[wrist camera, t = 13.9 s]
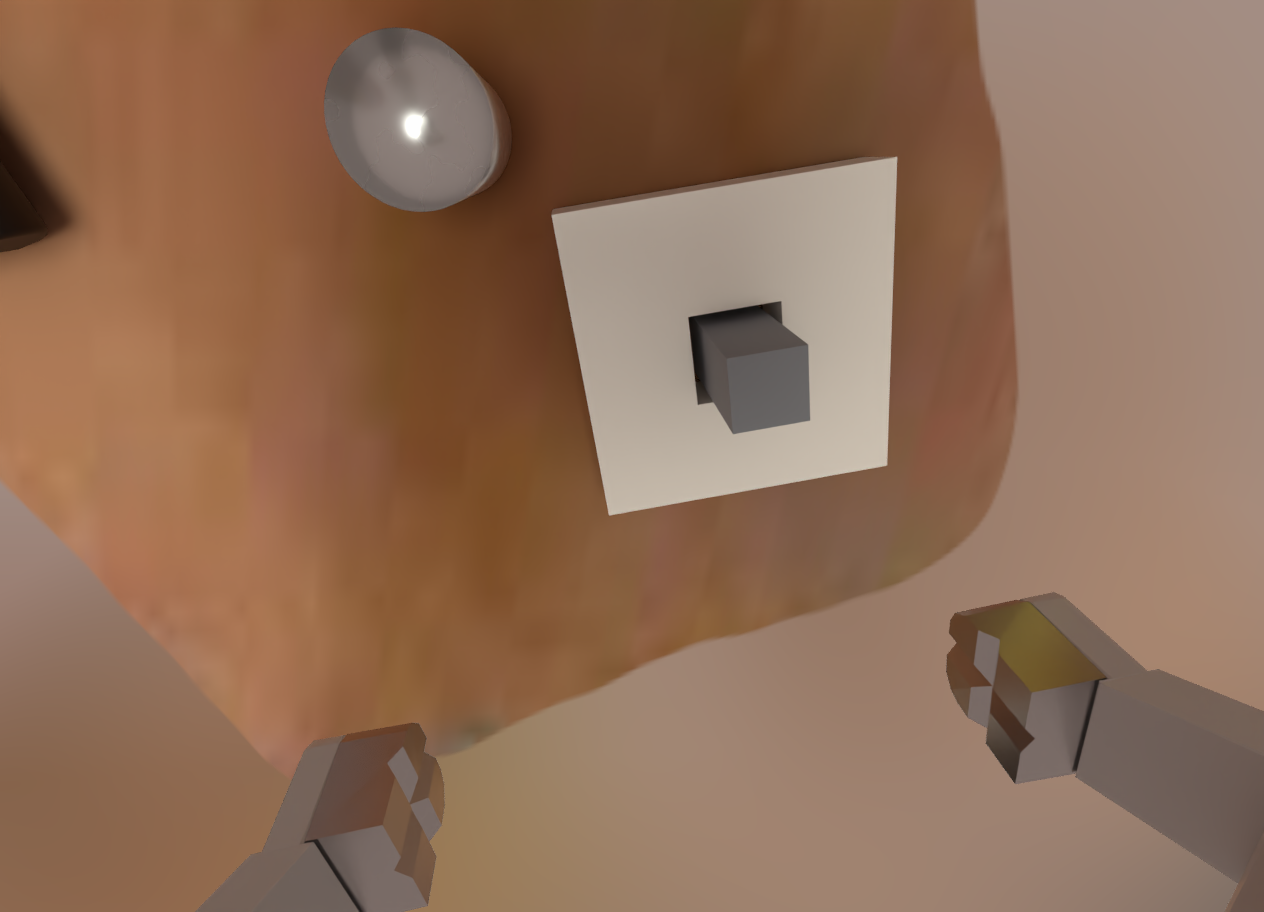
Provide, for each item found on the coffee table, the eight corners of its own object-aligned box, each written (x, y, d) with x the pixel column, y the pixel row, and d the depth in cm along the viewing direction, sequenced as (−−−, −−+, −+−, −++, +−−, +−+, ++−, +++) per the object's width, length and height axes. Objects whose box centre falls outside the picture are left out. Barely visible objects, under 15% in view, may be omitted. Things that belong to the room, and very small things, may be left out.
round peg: (373, 74, 29) (298, 42, 20) (496, 54, 29) (469, 14, 21) (410, 206, 31) (356, 223, 23) (523, 187, 31) (509, 198, 23)
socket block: (552, 209, 32) (551, 215, 29) (864, 156, 32) (897, 157, 29) (605, 486, 39) (609, 515, 35) (860, 440, 39) (886, 465, 36)
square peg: (688, 311, 35) (726, 358, 26) (750, 300, 35) (808, 344, 27) (694, 371, 36) (732, 434, 28) (755, 361, 36) (810, 420, 28)
